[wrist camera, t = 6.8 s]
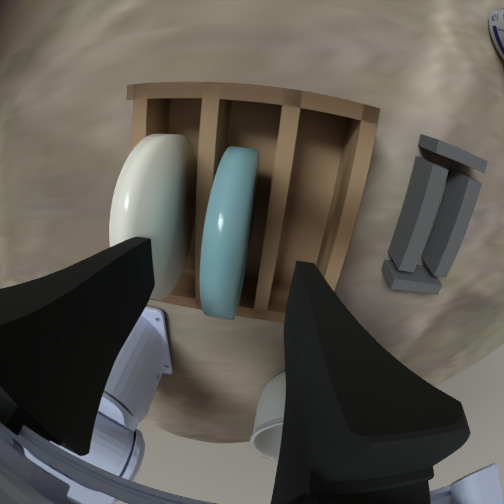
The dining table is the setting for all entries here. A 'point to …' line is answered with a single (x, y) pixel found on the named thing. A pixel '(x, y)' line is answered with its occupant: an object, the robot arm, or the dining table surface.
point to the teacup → (270, 418)
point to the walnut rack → (269, 176)
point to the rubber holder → (432, 219)
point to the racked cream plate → (158, 204)
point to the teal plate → (228, 232)
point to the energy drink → (497, 30)
